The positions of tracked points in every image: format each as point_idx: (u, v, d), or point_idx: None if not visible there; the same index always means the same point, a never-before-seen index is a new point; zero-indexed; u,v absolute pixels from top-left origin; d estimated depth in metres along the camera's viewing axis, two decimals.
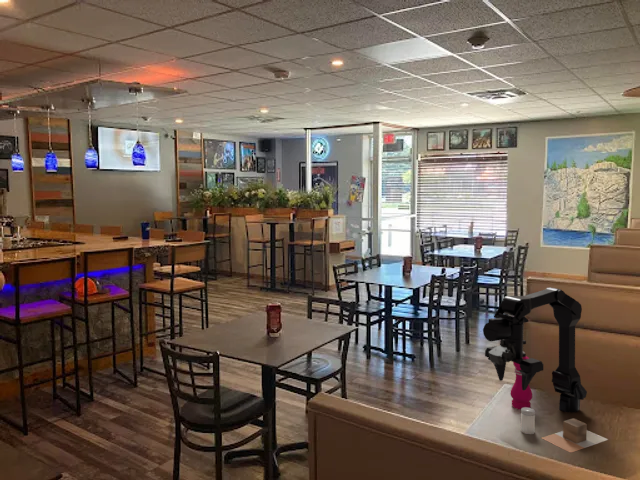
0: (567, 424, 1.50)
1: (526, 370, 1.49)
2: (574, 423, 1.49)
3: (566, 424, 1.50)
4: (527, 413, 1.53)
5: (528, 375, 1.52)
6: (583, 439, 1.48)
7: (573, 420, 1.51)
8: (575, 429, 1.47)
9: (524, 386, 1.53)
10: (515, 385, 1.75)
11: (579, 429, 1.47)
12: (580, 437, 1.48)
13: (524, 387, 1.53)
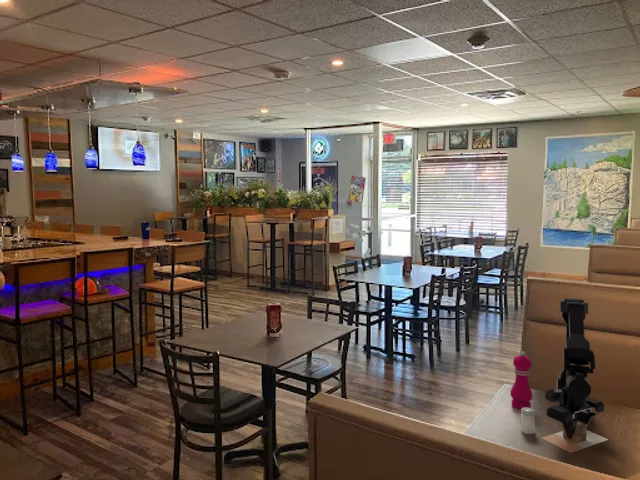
0: None
1: None
2: None
3: None
4: (527, 413, 1.53)
5: (568, 423, 1.48)
6: (583, 439, 1.48)
7: None
8: (575, 429, 1.47)
9: (566, 433, 1.49)
10: (515, 385, 1.75)
11: (579, 429, 1.47)
12: (580, 437, 1.48)
13: (567, 434, 1.49)
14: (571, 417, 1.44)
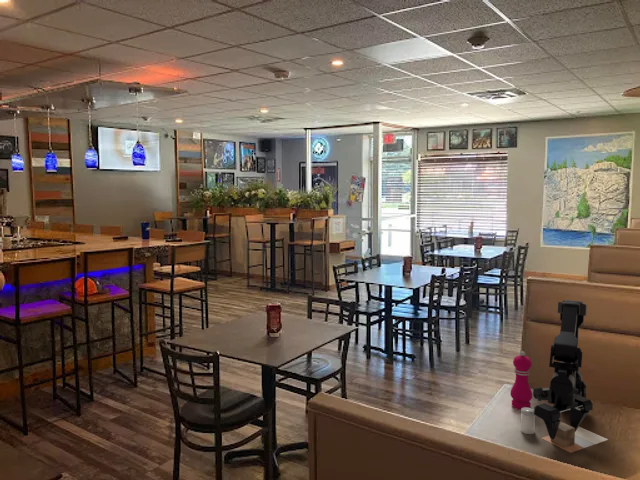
0: None
1: None
2: (562, 427, 1.47)
3: None
4: (527, 413, 1.53)
5: (551, 423, 1.44)
6: (571, 443, 1.46)
7: (561, 424, 1.48)
8: (563, 433, 1.45)
9: (549, 433, 1.45)
10: (515, 385, 1.75)
11: (566, 433, 1.45)
12: (567, 442, 1.45)
13: (550, 435, 1.45)
14: (558, 416, 1.41)
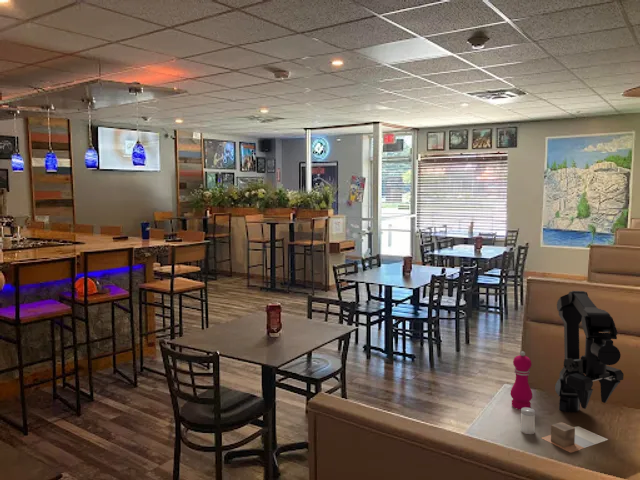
0: (555, 428, 1.47)
1: None
2: (562, 427, 1.47)
3: (554, 428, 1.47)
4: (527, 413, 1.53)
5: (583, 393, 1.45)
6: (571, 443, 1.46)
7: (561, 424, 1.48)
8: (563, 433, 1.45)
9: (581, 403, 1.46)
10: (515, 385, 1.75)
11: (566, 433, 1.45)
12: (567, 442, 1.45)
13: (581, 404, 1.46)
14: (591, 384, 1.42)
